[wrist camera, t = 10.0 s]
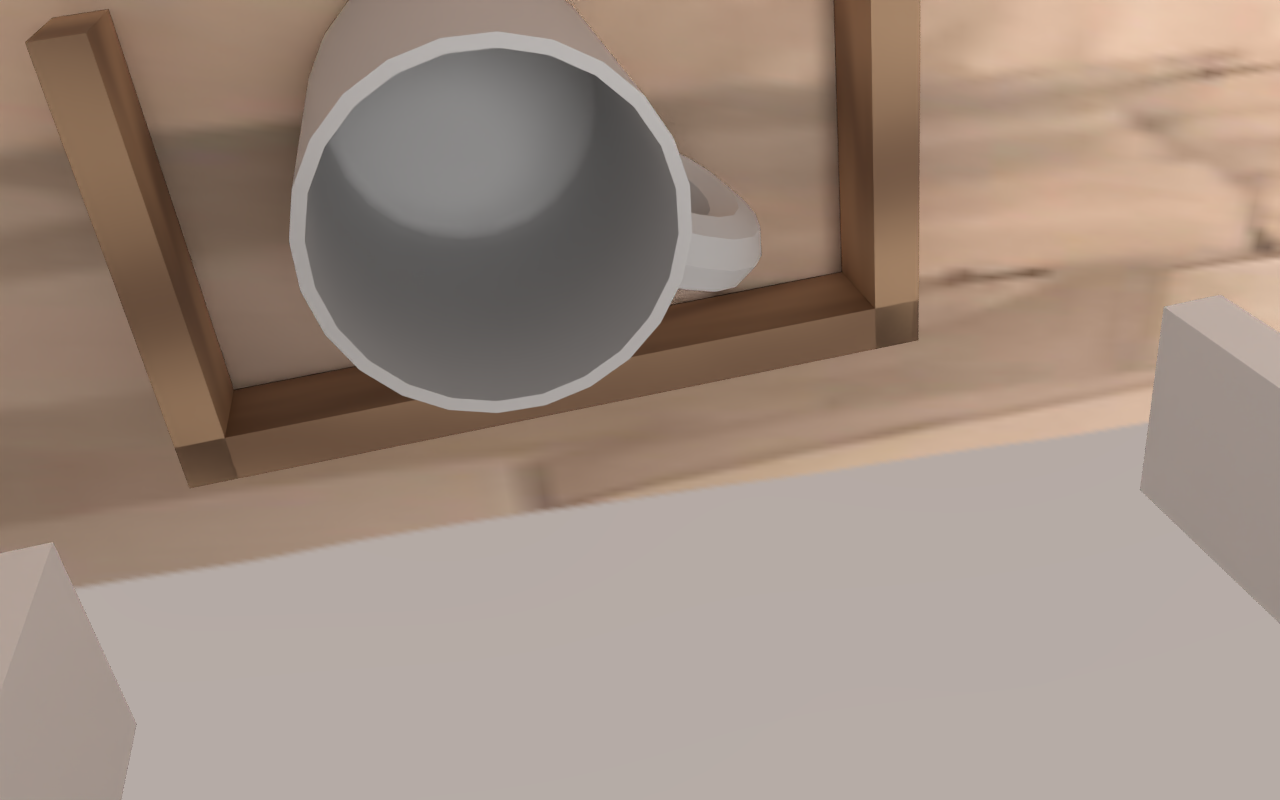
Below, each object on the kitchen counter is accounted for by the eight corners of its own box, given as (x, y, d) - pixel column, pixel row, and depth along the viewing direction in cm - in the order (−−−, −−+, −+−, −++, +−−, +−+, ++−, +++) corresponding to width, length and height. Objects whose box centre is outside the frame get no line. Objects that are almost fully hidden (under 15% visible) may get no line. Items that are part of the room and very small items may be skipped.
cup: (341, -93, 26) (334, -25, 19) (748, 33, 30) (883, 135, 22) (281, 208, 29) (254, 374, 22) (656, 294, 32) (748, 464, 25)
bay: (52, 17, 26) (24, 42, 24) (878, -110, 28) (921, -98, 26) (200, 438, 32) (189, 488, 30) (882, 302, 34) (918, 340, 32)
